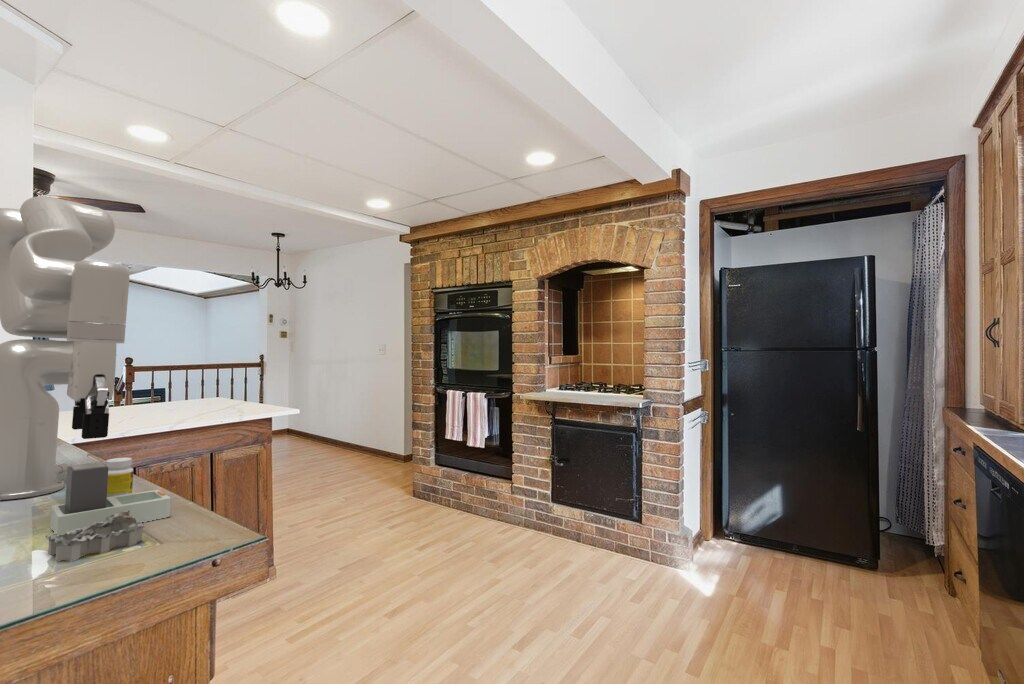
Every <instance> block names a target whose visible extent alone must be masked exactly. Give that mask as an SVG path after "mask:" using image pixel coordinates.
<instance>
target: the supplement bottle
mask: <svg viewBox="0 0 1024 684" xmlns="http://www.w3.org/2000/svg"><path fill="white" fill-rule="evenodd" d="M132 462H133V459H132V457H114V458H110V459H107V460H106V461H105V465H106V466H108V483H107V497H112V496H118V495H125V494H131V493H133V485H134V484H133V483H134V482H133V481H134V468H133V467H131V466H132V464H133V463H132Z"/></svg>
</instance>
